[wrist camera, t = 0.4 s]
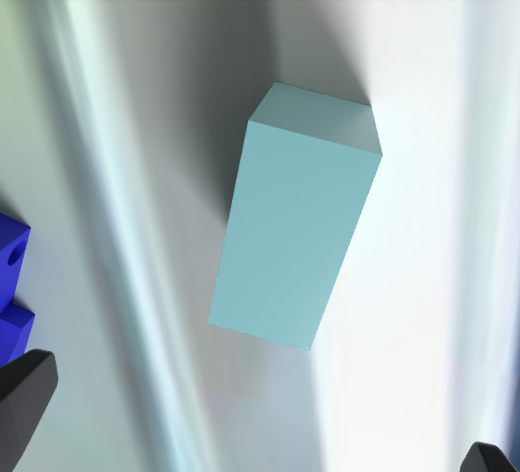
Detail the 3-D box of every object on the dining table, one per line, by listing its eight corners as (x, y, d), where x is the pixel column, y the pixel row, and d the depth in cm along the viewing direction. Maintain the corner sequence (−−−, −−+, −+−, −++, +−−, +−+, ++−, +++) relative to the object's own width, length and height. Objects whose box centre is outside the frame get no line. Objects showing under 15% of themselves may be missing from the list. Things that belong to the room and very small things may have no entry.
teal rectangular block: (371, 106, 18) (382, 155, 13) (317, 265, 22) (309, 350, 17) (275, 81, 18) (248, 120, 13) (239, 244, 22) (207, 323, 17)
